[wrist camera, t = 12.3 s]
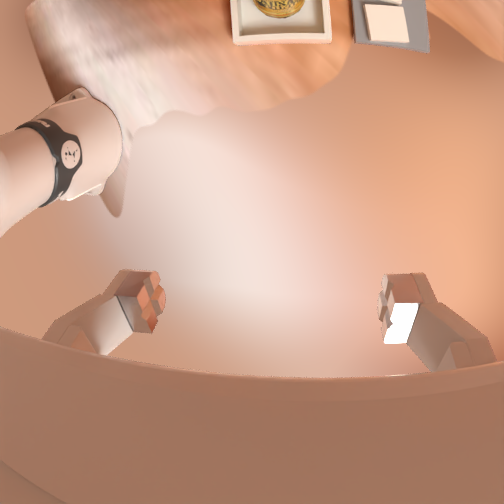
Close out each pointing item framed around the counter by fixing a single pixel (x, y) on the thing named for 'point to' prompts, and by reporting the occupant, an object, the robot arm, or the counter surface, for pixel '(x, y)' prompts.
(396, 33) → the tile
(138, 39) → the counter surface
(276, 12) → the sauce bottle
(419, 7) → the slate board
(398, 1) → the tile
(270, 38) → the bin
